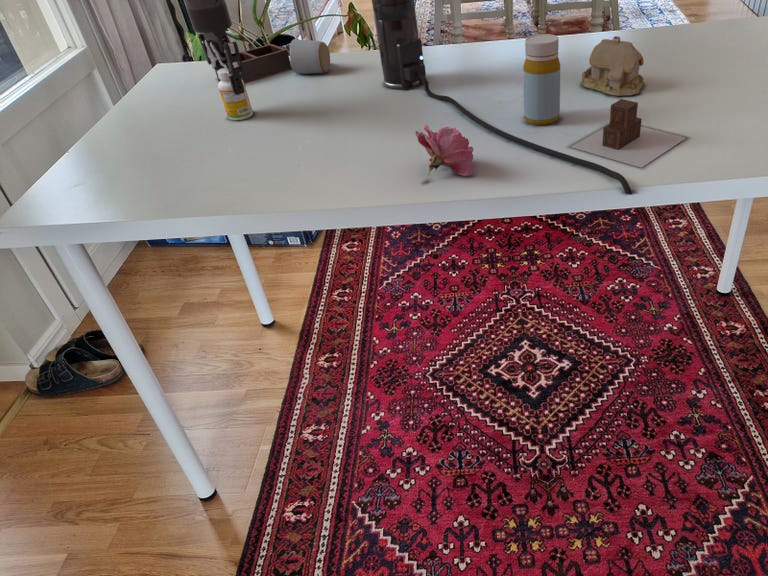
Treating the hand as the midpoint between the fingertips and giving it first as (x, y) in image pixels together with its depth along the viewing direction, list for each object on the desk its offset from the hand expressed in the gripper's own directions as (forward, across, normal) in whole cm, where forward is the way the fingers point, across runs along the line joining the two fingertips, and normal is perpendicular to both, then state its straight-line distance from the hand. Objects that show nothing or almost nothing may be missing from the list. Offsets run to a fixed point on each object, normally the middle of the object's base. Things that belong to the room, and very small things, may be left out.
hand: (232, 89), depth 137 cm
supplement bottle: (+6, 0, 0) cm, 6 cm away
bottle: (+6, -53, -40) cm, 67 cm away
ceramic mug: (+6, +14, -27) cm, 31 cm away
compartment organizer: (+6, +25, -16) cm, 30 cm away
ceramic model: (+6, -52, -63) cm, 82 cm away
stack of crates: (+6, -73, -42) cm, 85 cm away
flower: (+6, -56, -13) cm, 58 cm away
